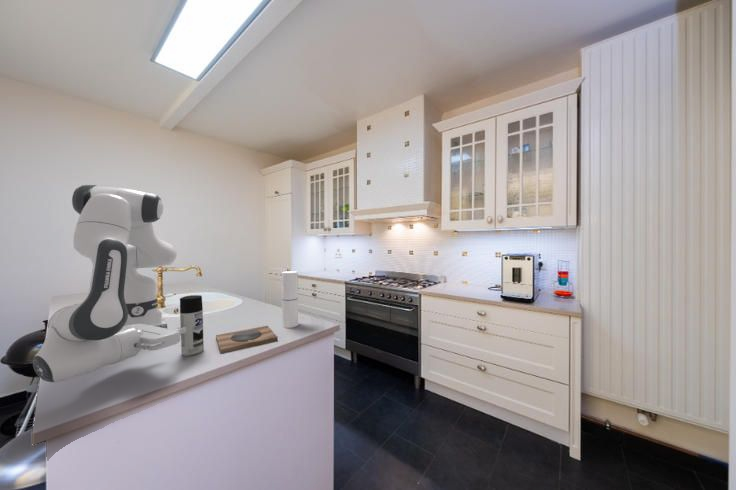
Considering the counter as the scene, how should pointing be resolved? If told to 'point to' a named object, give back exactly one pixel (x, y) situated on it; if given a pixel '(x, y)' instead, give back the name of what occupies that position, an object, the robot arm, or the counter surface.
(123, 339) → the robot arm
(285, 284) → the cylindrical container
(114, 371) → the counter surface
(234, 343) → the board
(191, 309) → the spray can
